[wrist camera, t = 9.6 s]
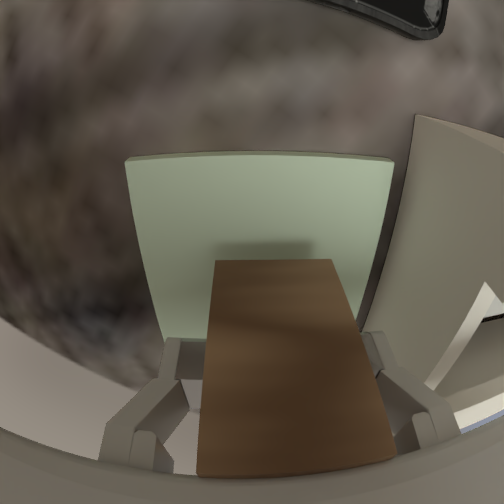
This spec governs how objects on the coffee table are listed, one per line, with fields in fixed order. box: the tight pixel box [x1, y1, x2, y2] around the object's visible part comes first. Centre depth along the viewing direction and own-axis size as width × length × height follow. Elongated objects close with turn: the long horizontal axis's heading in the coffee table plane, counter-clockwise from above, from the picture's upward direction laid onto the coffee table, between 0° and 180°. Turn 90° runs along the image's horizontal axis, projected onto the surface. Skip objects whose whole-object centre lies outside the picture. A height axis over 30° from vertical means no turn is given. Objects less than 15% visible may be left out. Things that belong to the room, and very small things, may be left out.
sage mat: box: [125, 151, 394, 343], centre depth 13 cm, size 10×10×1 cm
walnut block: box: [196, 259, 398, 479], centre depth 9 cm, size 4×4×7 cm
